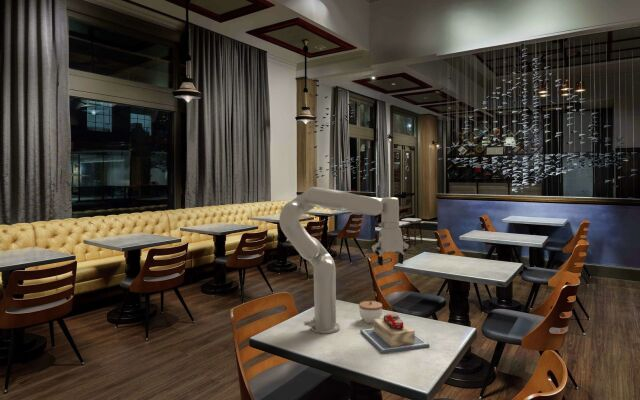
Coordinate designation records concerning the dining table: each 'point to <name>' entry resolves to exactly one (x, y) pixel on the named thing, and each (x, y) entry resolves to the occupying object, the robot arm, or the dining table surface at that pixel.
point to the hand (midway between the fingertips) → (390, 264)
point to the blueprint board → (384, 345)
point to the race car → (393, 321)
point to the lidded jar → (370, 310)
